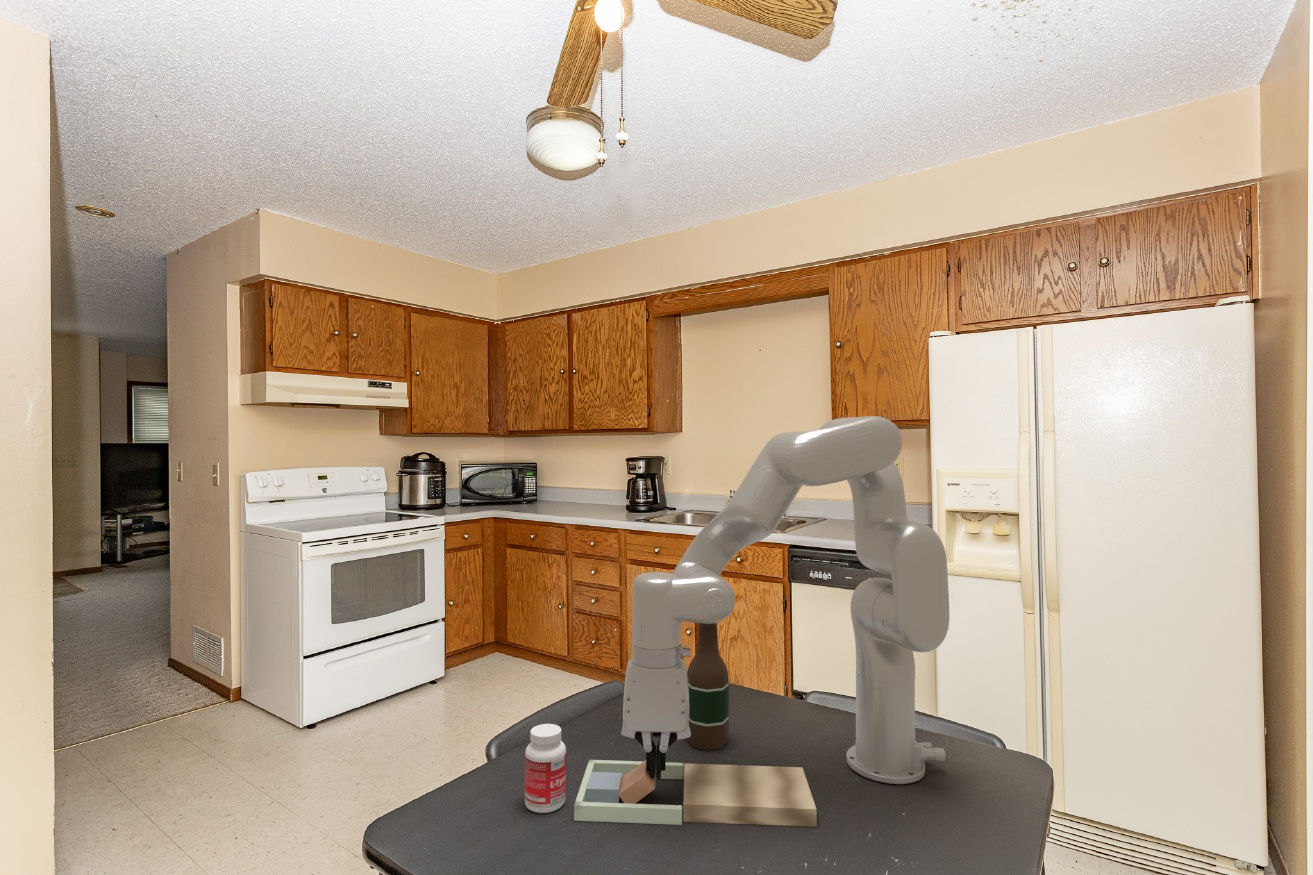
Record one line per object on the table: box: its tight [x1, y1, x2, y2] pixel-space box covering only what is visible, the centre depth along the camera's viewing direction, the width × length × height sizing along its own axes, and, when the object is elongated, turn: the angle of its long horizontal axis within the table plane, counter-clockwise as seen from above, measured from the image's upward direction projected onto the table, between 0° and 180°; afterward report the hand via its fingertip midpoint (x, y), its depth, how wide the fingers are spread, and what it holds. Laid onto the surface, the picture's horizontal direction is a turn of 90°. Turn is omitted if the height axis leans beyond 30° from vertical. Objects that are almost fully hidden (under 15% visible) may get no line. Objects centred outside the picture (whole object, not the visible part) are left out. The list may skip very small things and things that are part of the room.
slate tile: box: [586, 772, 622, 803], centre depth 100 cm, size 5×5×2 cm
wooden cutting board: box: [682, 763, 818, 828], centre depth 99 cm, size 19×12×2 cm, turn 87°
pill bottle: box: [524, 723, 567, 814], centre depth 98 cm, size 6×6×11 cm
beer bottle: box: [686, 622, 730, 752], centre depth 118 cm, size 8×8×24 cm
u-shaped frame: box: [573, 759, 684, 826], centre depth 100 cm, size 16×14×2 cm
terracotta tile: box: [618, 759, 657, 804], centre depth 99 cm, size 5×5×2 cm
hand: (655, 774), depth 99 cm, fingers closed
